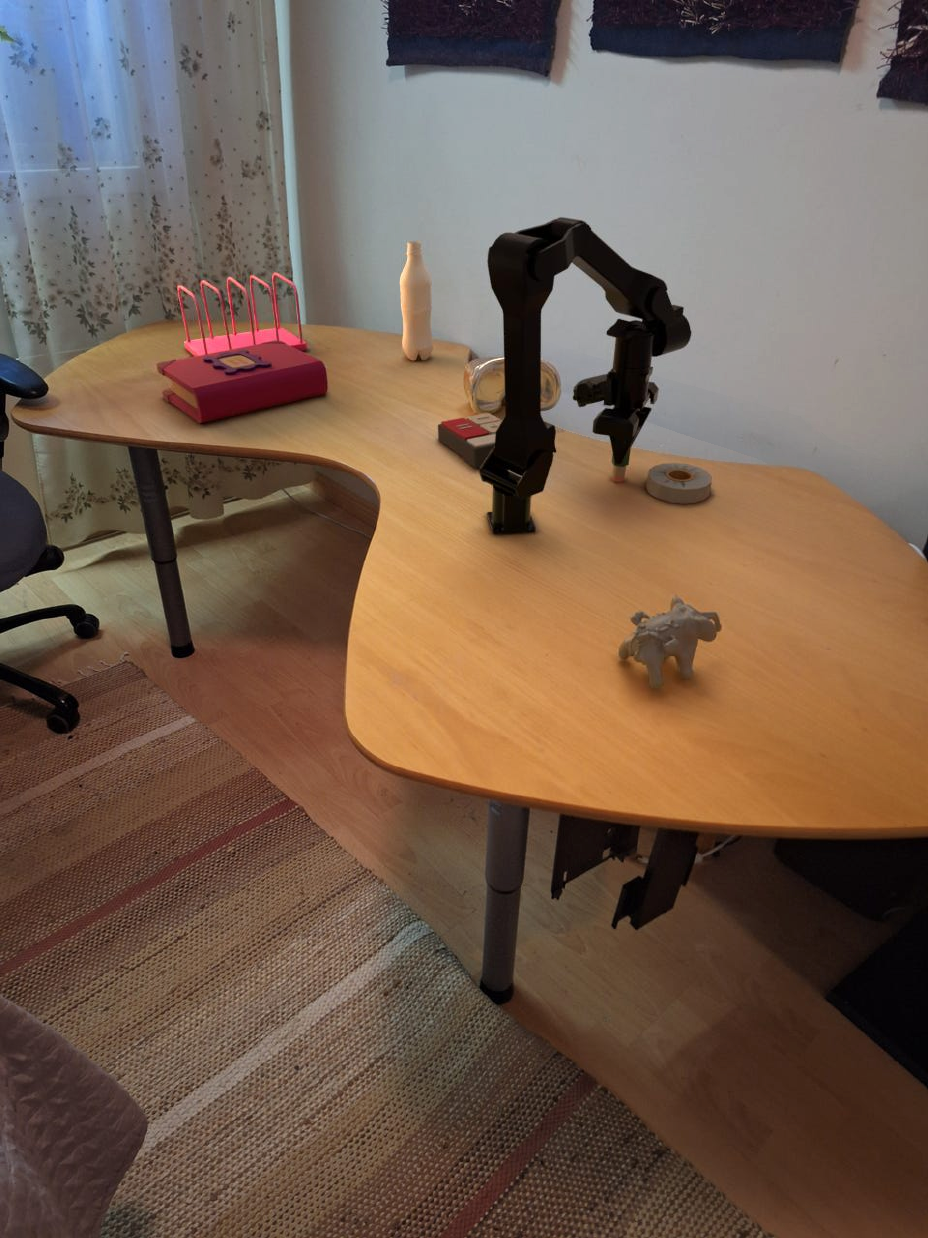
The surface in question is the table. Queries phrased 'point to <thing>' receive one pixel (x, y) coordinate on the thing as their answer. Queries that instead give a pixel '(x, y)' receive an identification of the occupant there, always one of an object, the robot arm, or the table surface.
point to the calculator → (470, 437)
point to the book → (242, 380)
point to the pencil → (620, 468)
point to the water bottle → (416, 305)
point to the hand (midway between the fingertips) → (621, 457)
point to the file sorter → (234, 340)
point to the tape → (679, 483)
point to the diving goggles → (489, 385)
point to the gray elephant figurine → (669, 639)
